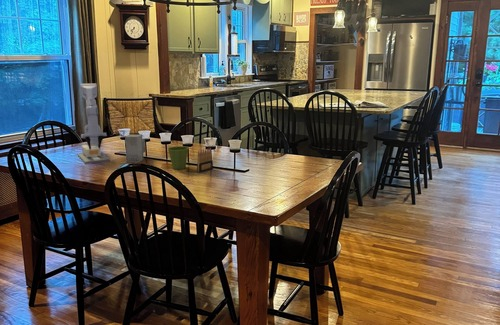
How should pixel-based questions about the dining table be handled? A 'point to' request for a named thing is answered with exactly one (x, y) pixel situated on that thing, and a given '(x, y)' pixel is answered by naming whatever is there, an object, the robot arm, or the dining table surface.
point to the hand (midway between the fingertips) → (94, 148)
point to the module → (93, 152)
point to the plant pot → (178, 156)
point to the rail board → (92, 159)
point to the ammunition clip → (204, 161)
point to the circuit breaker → (134, 148)
